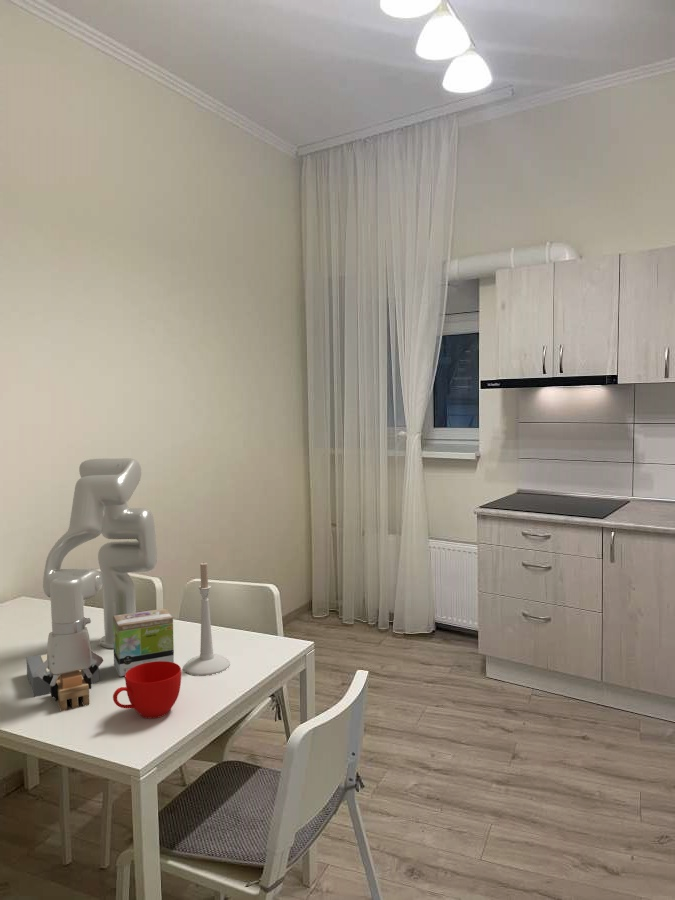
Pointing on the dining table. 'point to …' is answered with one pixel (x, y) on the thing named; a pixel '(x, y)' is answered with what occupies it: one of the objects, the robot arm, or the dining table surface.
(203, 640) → the candlestick
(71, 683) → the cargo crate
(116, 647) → the tea box
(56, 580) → the robot arm
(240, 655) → the dining table surface
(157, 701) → the ceramic cup
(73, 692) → the pallet
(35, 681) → the dock
